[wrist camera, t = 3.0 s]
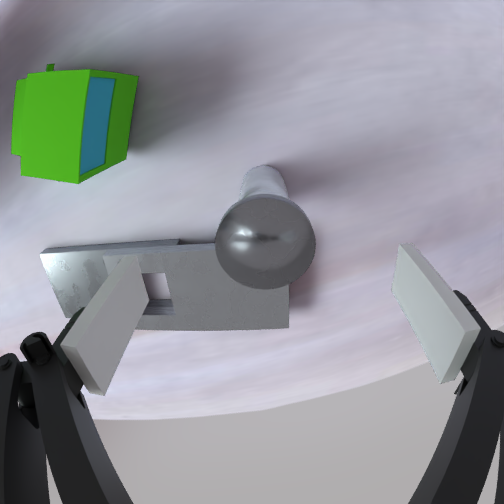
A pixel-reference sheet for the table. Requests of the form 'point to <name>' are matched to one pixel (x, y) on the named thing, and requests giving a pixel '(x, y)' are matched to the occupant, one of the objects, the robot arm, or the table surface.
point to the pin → (264, 234)
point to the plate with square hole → (179, 282)
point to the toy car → (72, 122)
